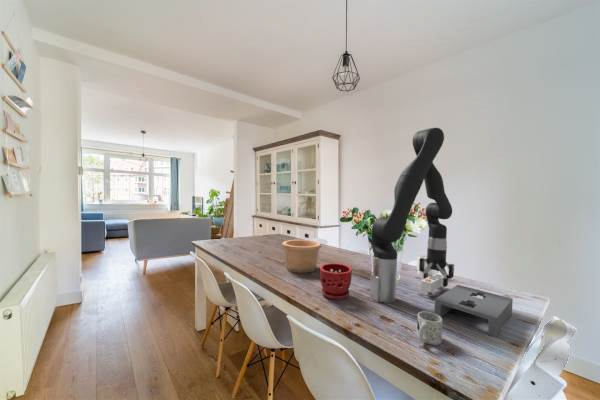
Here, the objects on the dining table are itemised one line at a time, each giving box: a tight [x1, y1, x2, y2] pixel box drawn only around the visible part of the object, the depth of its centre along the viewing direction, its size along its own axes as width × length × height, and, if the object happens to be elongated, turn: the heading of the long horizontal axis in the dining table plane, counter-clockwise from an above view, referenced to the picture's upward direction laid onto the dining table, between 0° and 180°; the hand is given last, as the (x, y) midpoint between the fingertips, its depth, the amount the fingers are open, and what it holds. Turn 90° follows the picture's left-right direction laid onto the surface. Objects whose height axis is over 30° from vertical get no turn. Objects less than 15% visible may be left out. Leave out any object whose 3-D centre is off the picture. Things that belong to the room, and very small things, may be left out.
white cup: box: [416, 254, 433, 277], centre depth 140 cm, size 8×8×10 cm
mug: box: [416, 311, 443, 346], centre depth 76 cm, size 10×7×7 cm, turn 133°
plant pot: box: [319, 262, 353, 300], centre depth 108 cm, size 13×13×12 cm
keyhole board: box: [433, 284, 514, 338], centre depth 94 cm, size 24×18×6 cm
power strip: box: [420, 271, 449, 298], centre depth 115 cm, size 20×4×7 cm, turn 131°
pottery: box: [281, 239, 322, 274], centre depth 145 cm, size 22×22×14 cm
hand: (435, 284), depth 115 cm, fingers open, 7 cm apart
